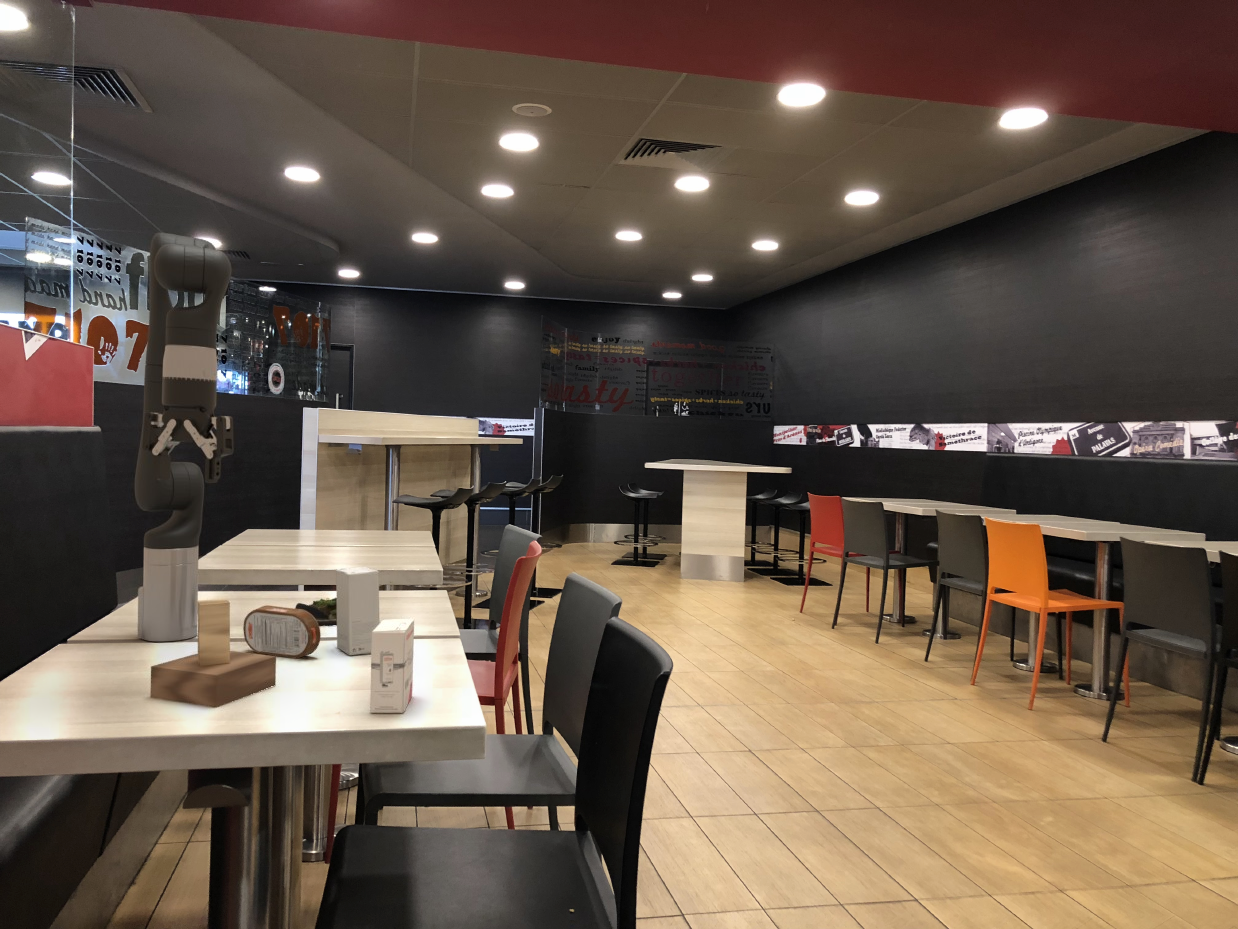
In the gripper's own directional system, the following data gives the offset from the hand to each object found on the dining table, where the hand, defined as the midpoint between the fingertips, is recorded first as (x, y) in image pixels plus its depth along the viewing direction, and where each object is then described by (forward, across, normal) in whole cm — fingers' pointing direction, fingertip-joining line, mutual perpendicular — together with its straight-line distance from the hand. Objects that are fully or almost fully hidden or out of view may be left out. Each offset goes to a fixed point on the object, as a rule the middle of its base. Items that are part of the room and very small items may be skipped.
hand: (186, 481), depth 132 cm
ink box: (+30, -37, +3) cm, 48 cm away
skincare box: (+31, -16, -26) cm, 44 cm away
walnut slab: (+31, -9, +4) cm, 33 cm away
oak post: (+26, -9, +4) cm, 28 cm away
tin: (+32, -5, -18) cm, 37 cm away
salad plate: (+33, +4, -49) cm, 59 cm away
